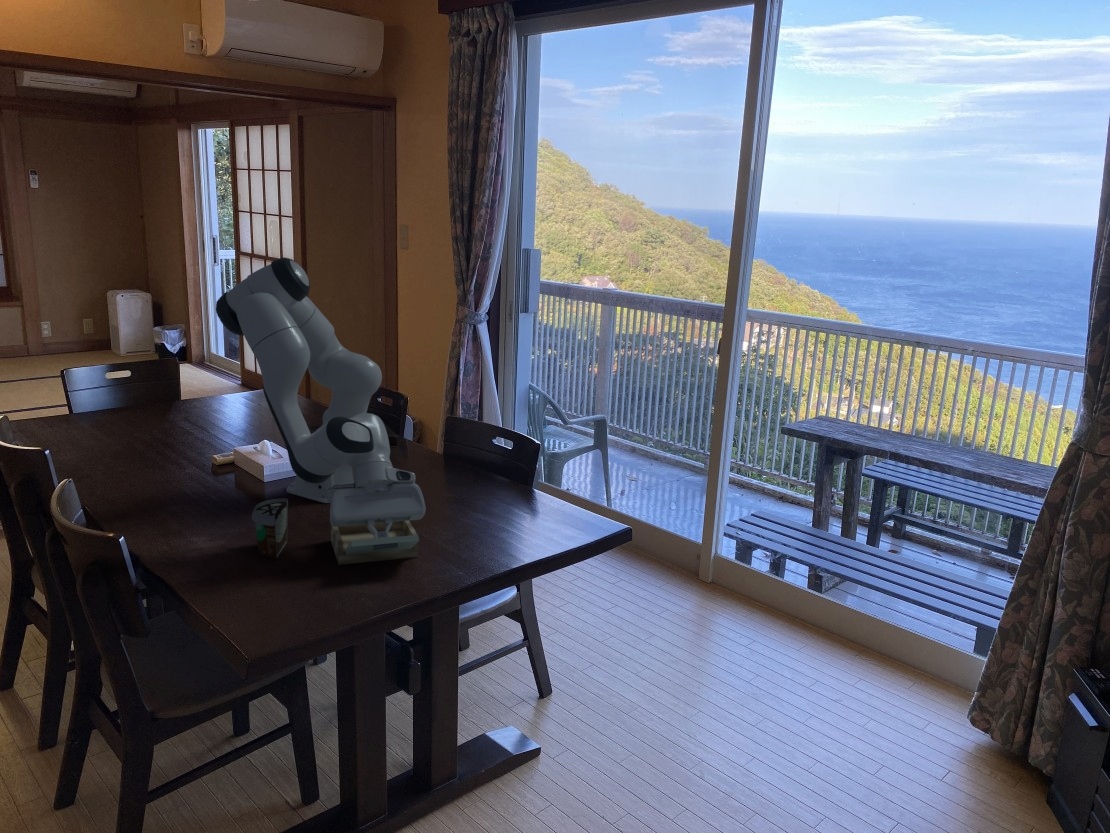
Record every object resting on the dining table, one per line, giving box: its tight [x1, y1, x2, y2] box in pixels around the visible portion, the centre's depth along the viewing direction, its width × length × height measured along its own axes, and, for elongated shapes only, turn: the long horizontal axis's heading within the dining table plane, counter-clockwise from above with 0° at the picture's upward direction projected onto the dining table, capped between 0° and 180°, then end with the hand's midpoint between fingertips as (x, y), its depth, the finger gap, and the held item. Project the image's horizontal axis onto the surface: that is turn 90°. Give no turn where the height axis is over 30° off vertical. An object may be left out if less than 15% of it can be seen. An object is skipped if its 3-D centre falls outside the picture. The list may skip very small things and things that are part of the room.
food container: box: [251, 498, 289, 559], centre depth 176 cm, size 12×6×10 cm, turn 5°
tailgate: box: [346, 534, 420, 555], centre depth 170 cm, size 2×14×9 cm
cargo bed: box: [330, 520, 419, 566], centre depth 180 cm, size 14×17×8 cm
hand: (382, 540), depth 169 cm, fingers closed, pressing on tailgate
